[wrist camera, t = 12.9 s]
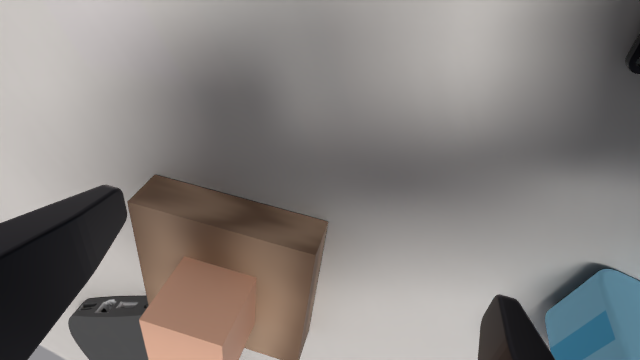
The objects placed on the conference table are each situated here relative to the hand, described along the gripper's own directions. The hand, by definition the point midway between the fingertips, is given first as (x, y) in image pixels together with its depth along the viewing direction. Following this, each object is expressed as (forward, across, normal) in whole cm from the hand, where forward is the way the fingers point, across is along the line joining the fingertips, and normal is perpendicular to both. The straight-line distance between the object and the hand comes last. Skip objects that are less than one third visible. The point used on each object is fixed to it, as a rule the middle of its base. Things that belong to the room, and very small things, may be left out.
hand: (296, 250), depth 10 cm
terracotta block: (+10, +7, +17) cm, 21 cm away
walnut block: (+13, +7, +17) cm, 22 cm away
